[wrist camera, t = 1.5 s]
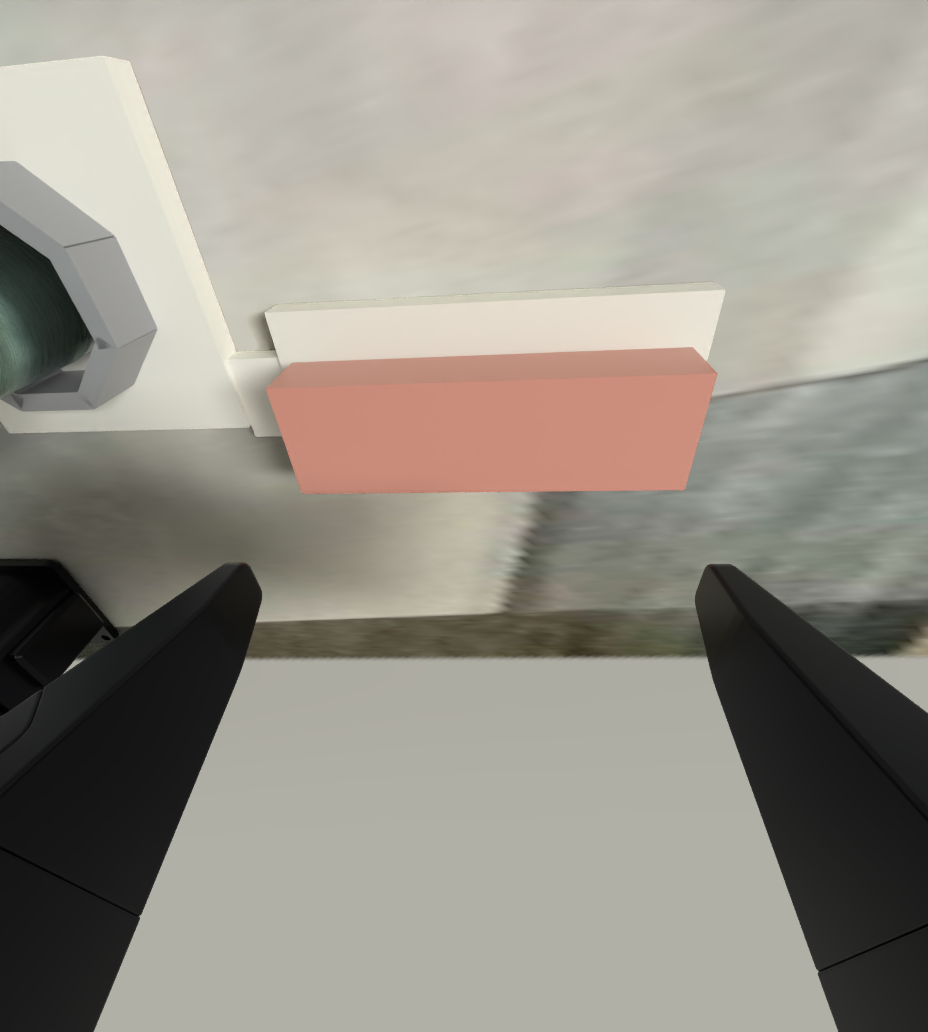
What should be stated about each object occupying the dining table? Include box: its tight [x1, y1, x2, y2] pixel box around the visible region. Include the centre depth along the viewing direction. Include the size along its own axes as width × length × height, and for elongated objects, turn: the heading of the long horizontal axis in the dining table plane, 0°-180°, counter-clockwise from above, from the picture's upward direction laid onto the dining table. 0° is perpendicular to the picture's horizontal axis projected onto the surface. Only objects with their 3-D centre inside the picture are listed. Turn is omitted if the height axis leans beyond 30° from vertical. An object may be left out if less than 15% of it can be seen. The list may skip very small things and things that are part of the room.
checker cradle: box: [0, 56, 726, 437], centre depth 14 cm, size 26×12×3 cm, turn 94°
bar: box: [266, 347, 717, 494], centre depth 14 cm, size 12×4×2 cm, turn 94°
